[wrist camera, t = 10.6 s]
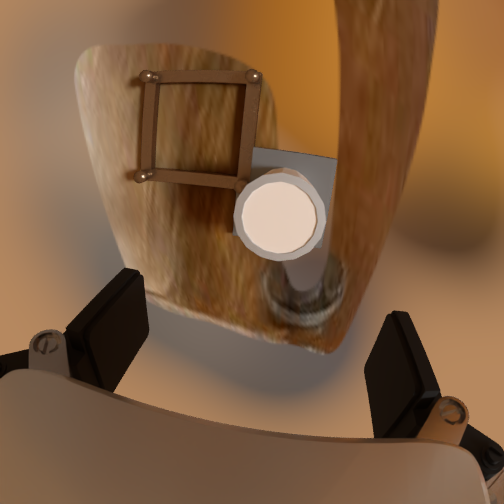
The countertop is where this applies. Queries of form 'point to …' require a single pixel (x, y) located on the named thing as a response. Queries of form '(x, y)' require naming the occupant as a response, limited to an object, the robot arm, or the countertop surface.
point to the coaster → (308, 165)
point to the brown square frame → (150, 127)
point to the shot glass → (280, 215)
